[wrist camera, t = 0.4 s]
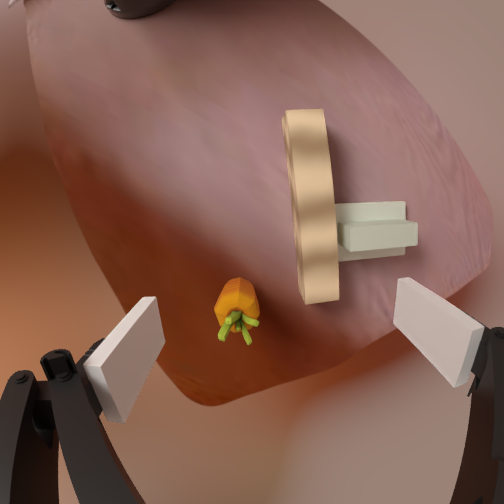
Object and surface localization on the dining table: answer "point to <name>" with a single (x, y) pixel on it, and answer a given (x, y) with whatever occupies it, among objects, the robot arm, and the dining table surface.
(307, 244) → the birch bar
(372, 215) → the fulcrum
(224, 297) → the carrot
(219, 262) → the dining table surface
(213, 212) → the dining table surface
